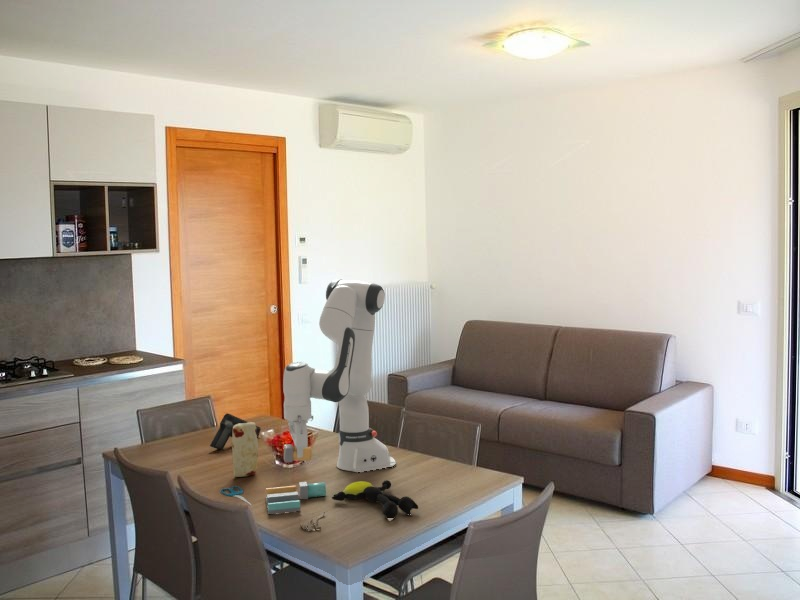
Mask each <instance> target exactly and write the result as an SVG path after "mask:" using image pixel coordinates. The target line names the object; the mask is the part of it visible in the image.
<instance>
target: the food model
mask: <svg viewBox="0 0 800 600" xmlns="http://www.w3.org/2000/svg"><path fill="white" fill-rule="evenodd" d="M247 422H248V423H239V424H236V425H234V426H233V433H232V437H231V438H232V439H231V440H232V441H231V452H232V453H231V454H232V467H233V469H232V470H233V476H234V477H236V478H237V477H238V478H239V477H240V478H241V477H242V478H243V477H249V476H254V475H256V473H257V468H258V458H259V438H257V430H256V426H257V425H256V422H252V421H247Z"/></svg>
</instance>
